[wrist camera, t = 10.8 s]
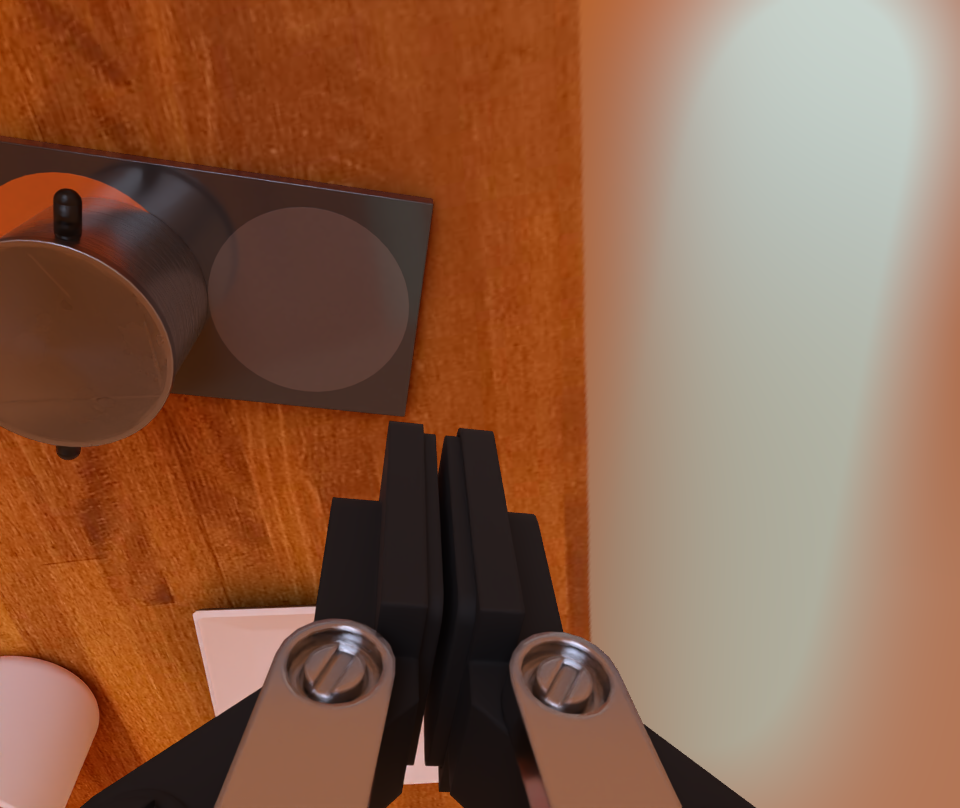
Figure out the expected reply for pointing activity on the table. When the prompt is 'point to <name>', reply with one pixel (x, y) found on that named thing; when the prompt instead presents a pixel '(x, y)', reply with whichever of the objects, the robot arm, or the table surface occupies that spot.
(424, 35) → the table surface
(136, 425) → the pot
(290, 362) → the hob
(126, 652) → the table surface
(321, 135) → the table surface
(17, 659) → the cup
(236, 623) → the plate
